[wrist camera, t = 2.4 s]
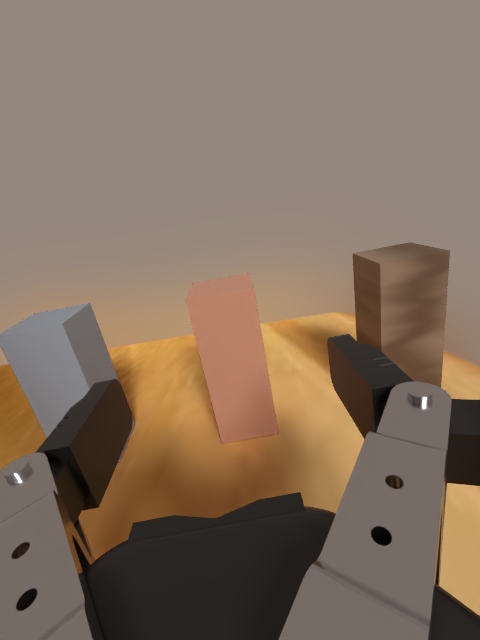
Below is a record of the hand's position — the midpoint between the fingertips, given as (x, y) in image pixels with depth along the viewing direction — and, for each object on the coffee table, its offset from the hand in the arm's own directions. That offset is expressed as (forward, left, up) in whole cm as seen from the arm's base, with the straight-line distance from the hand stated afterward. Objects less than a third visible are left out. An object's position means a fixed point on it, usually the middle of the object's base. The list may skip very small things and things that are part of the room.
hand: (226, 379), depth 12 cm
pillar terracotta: (-8, +8, -11) cm, 16 cm away
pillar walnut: (+1, +17, -11) cm, 20 cm away
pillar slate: (-17, -1, -11) cm, 21 cm away
